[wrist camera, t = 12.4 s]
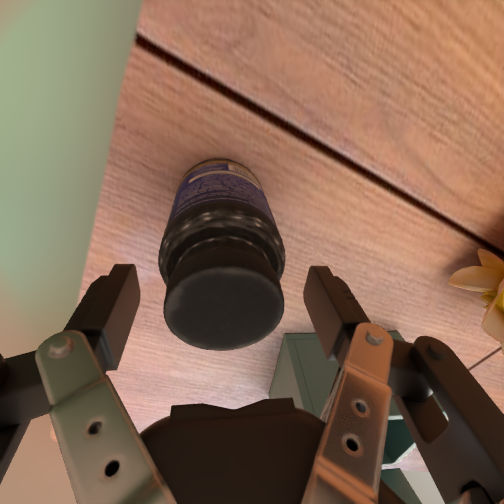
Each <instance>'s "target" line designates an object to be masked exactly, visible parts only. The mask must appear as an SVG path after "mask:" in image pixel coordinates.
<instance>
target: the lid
mask: <svg viewBox="0 0 504 504" xmlns="http://www.w3.org/2000/svg"><path fill="white" fill-rule="evenodd" d="M380 478H381V479H382V480H383V481H384V482H385V483H386V484H387V485H388V486H389V487H390V488H391V489H392V490H393V491H394V492H395V493H396V494H397V495H398V496H399V497H400V498H401V499H402V500H403V501H404V502H405V503H406V504H422V503H421V501H420V500H419V498H418V497H417V495H416V494H415V492H414V490H413V489H412V488H411V486H410V484H409V482H408V481H407V479H406V478H405V476H404V474H403V473H402V471H401V470H400V468H395V469H385V470H381V476H380Z"/></svg>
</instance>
